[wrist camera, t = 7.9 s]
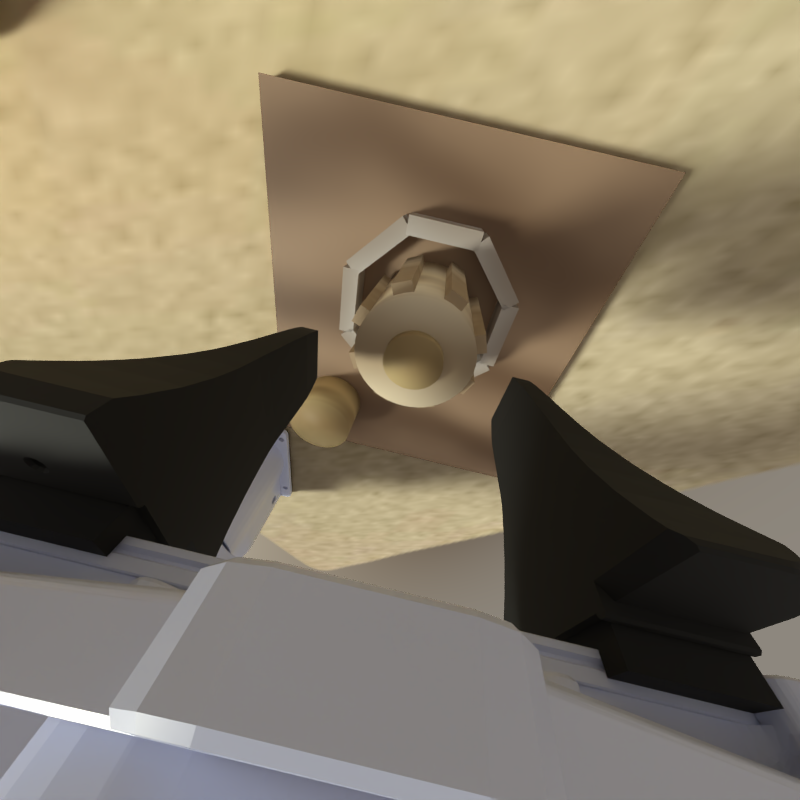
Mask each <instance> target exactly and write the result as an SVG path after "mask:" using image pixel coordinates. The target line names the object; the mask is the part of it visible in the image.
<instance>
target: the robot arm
mask: <svg viewBox="0 0 800 800" xmlns="http://www.w3.org/2000/svg"><path fill="white" fill-rule="evenodd" d="M317 370H318V330H314V329H309V328H305V327H297V328H292V329H288V330H285V331H281V332H278V333H275V334H271V335H268V336H264V337H261V338H258V339H254V340H250V341H246V342H242V343H239V344H235V345H231V346H227V347H222V348H218V349H213V350H207V351H201V352H195V353H189V354H182V355H172V356H163V357H153V358H143V359H127V360H103V361H27V360H9V361H4V362H0V800H800V680H799V679H795V678H790V677H785V676H778V675H762V673H761V672H760V670H759V669H758V667H757V666H756V664H755V663H754V661H753V660H752V658H751V656H753V657H757V656H761V653H762V650H761V649H760V647H759V646H758V644H757V643H756V641H755V640H754V638H753V637H752V635H751V634H750V633H751V632H754V631H756V630H760V629H763V628H765V627H768V626H771V625H774V624H777V623H780V622H783V621H786V620H789V619H791V618H795V617H797V616H799V615H800V558H799V557H798V556H797V555H796V554H795V553H794V552H793V551H791V550H790V549H789V548H787V547H786V546H785V545H783V544H781V543H779V542H777V541H775V540H773V539H770V538H768V537H766V536H764V535H762V534H760V533H758V532H756V531H754V530H752V529H749V528H748V527H746V526H743V525H741V524H739V523H737V522H735V521H733V520H731V519H729V518H727V517H725V516H723V515H721V514H719V513H717V512H715V511H713V510H711V509H709V508H707V507H705V506H703V505H702V504H700V503H698V502H696V501H694V500H692V499H690V498H689V497H687V496H685V495H683V494H681V493H679V492H678V491H676V490H674V489H672V488H671V487H669V486H667V485H665V484H664V483H662V482H660V481H659V480H657V479H656V478H654V477H652V476H651V475H649V474H647V473H646V472H644V471H643V470H641V469H639V468H638V467H636V466H635V465H633V464H632V463H630V462H629V461H627V460H626V459H624V458H623V457H621V456H620V455H619V454H617V453H616V452H614V451H613V450H612V449H610V448H609V447H607V446H606V445H605V444H603V443H602V442H601V441H599V440H598V439H597V438H595V437H594V436H593V435H592V434H590V433H589V432H588V431H587V430H586V429H584V428H583V427H582V426H581V425H580V424H578V423H577V422H576V421H575V420H574V419H573V418H571V417H570V416H569V415H568V414H567V413H566V412H565V411H564V410H563V409H561V408H560V407H559V406H558V405H557V404H556V403H555V402H554V401H553V400H552V399H550V398H549V397H548V396H547V395H546V394H545V393H544V392H543V391H542V390H540V389H539V388H538V387H537V386H536V385H534V384H533V383H532V382H530V381H528V380H524V379H519V378H515V377H512V379H511V381H510V383H509V385H508V387H507V389H506V391H505V393H504V395H503V397H502V399H501V401H500V403H499V405H498V407H497V409H496V411H495V413H494V415H493V417H492V419H491V439H492V448H493V454H494V460H495V465H496V471H497V477H498V482H499V488H500V493H501V501H502V511H503V528H504V554H505V555H504V556H505V602H504V620H502V619H500V618H497V617H494V616H492V615H489V614H486V613H483V612H481V611H478V610H476V609H472V608H467V607H463V606H459V605H455V604H451V603H446V602H443V601H438V600H434V599H430V598H426V597H421V596H418V595H413V594H410V593H405V592H401V591H397V590H392V589H388V588H385V587H381V586H376V585H372V584H368V583H364V582H360V581H356V580H351V579H347V578H343V577H339V576H335V575H331V574H327V573H323V572H318V571H314V570H310V569H306V568H302V567H298V566H293V565H290V564H285V563H281V562H276V561H269V560H260V559H252V558H244V557H243V556H244V555H245V554H246V553H247V552H248V551H249V549H250V548H251V546H252V545H253V543H254V541H255V540H256V538H257V536H258V534H259V533H260V531H261V529H262V527H263V525H264V524H265V522H266V520H267V518H268V517H269V515H270V513H271V511H272V509H273V508H274V506H275V504H276V502H277V501H278V499H279V497H280V495H282V496H287V497H288V496H290V495H291V494H292V484H291V469H290V453H289V438H288V432H287V431H286V430H284V429H285V428H286V427H287V425H288V424H289V423H290V421H291V420H292V419H293V417H294V416H295V414H296V413H297V412H298V410H299V409H300V407H301V406H302V405H303V403H304V402H305V400H306V399H307V397H308V395H309V394H310V392H311V390H312V388H313V386H314V384H315V382H316V380H317Z"/></svg>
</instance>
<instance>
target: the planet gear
mask: <svg viewBox="0 0 800 800" xmlns="http://www.w3.org/2000/svg"><path fill="white" fill-rule="evenodd" d="M352 322H354V323H355V324H357V325H358V326H360V327H359V329H358V332H357V335H356V338H355V344H354V345H353V347H352V348H351V350H350V351H349V355H350V358H351V361H352V364H353V367H354V369H355V368H358V369H359V372H360V374H361V376H362V377H363V379H364V380H365V382H366V383H367V384H368V385H369V386H370V387H371V389H373V390H374V393H375V394H377V395H379V396H380V397H382V398H384V399H385V400H387V401H388V400H389V401H391V402H393V403H396V404H399V405H402V406H408V407H418V408H427V407H434V405H438V404H441V403H443V402H446V401H448V400H450V399H451V398H453V397H454V396H456V395H457V394H458V393H459V392H460V393H461V394H464V393H465V392H466V391H467V390H468V389H469V388H470V387H471V386H472V385H473V384H474V383H475V380H474V370H475V367H476V362H477V354H484V353H487V340H486V331H485V327H484V323H483V318H482V314H481V309H480V305H479V301H478V297H473V298H469V294H468V291H467V285H466V278H465V271H463V270H462V269H461V268H460V267H458V266H457V265H456V264H454V263H453V262H451V264H450V265H449V267H448V268H447V267H445V266H443V265H440V264H437V263H432V262H424V256H423V255H420V256H415V257H410V258H407V260H406V262H405V263H404V265H403V266H402V268H401V269H400V271H399V272H398V273H397V274H396V275H395V276H394V277H393V278H392V279H390V278H389V277H387V276H386V275H384V276H383V277H382V279H381V280H380V281H379V282H378V284H377V285H376V286H375V287H374V289H373V290H372V291H371V292H370V294H369V295H368V296H367V297H366V299H365V300H364V301H363V302H362V304H361V305H360V307H359V309H358V310H357V312H356V314H355V316H354V317H353V319H352Z"/></svg>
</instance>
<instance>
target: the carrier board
mask: <svg viewBox="0 0 800 800" xmlns="http://www.w3.org/2000/svg"><path fill="white" fill-rule="evenodd" d="M258 74H259V87H260V101H261V114H262V128H263V142H264V155H265V169H266V182H267V196H268V210H269V223H270V237H271V250H272V264H273V277H274V291H275V305H276V318H277V332H281V331H285V330H288V329H292V328H297V327H305V328H309V329H314V330H318V370H317V380H316V382H315V384H314V386H313V388H312V390H311V392H310V394H309V395H308V397H307V399H306V400H305V402H304V403H303V405H302V406H301V407H300V409H299V410H298V412H297V413H296V414H295V416H294V417H293V419H292V420H291V421H290V423H289V424H288V425H287V427H291V428H293V429H294V431H295V432H296V433H297V434H298V435H299V436H300V437H301V438H302V439H303V440H305V441H307V442H308V443H310V444H313V445H316V446H319V447H335V446H338V445H340V444H342V443H343V442H344V441H349V442H353V443H358V444H362V445H366V446H370V447H374V448H378V449H382V450H387V451H391V452H395V453H399V454H403V455H407V456H411V457H416V458H420V459H424V460H428V461H432V462H436V463H440V464H445V465H449V466H453V467H457V468H461V469H465V470H469V471H474V472H478V473H482V474H486V475H490V476H494V477H497V471H496V465H495V460H494V454H493V448H492V439H491V419H492V417H493V415H494V413H495V411H496V409H497V407H498V405H499V403H500V401H501V399H502V397H503V395H504V393H505V391H506V389H507V387H508V385H509V383H510V381H511V379H512V377H515V378H519V379H524V380H528V381H530V382H532V383H533V384H534V385H536V386H537V387H538V388H539V389H540V390H542V391H543V392H544V393H545V394H546V395H547V396H548V395H549V393H550V391H551V390H552V388H553V387H554V385H555V383H556V382H557V380H558V378H559V377H560V375H561V374H562V372H563V370H564V369H565V367H566V366H567V364H568V362H569V361H570V359H571V357H572V356H573V354H574V353H575V351H576V349H577V348H578V346H579V344H580V343H581V341H582V340H583V338H584V336H585V335H586V333H587V332H588V330H589V328H590V327H591V325H592V323H593V322H594V320H595V319H596V317H597V315H598V314H599V312H600V311H601V309H602V307H603V306H604V304H605V302H606V301H607V299H608V298H609V296H610V294H611V293H612V291H613V289H614V288H615V286H616V285H617V283H618V281H619V280H620V278H621V277H622V275H623V273H624V272H625V270H626V268H627V267H628V265H629V264H630V262H631V260H632V259H633V257H634V255H635V254H636V252H637V251H638V249H639V247H640V246H641V244H642V243H643V241H644V239H645V238H646V236H647V234H648V233H649V231H650V230H651V228H652V226H653V225H654V223H655V221H656V220H657V218H658V217H659V215H660V213H661V212H662V210H663V209H664V207H665V205H666V204H667V202H668V200H669V199H670V197H671V196H672V194H673V192H674V191H675V189H676V187H677V186H678V184H679V183H680V181H681V179H682V178H683V176H684V175H685V173H686V172H681V171H677V170H673V169H669V168H664V167H660V166H656V165H652V164H647V163H643V162H639V161H634V160H630V159H626V158H622V157H617V156H613V155H609V154H605V153H600V152H596V151H592V150H587V149H583V148H579V147H575V146H570V145H566V144H562V143H558V142H553V141H549V140H545V139H540V138H536V137H532V136H528V135H523V134H519V133H515V132H511V131H506V130H502V129H498V128H493V127H489V126H485V125H481V124H476V123H472V122H468V121H464V120H459V119H455V118H451V117H447V116H442V115H438V114H434V113H429V112H425V111H421V110H417V109H412V108H408V107H404V106H400V105H395V104H391V103H387V102H382V101H378V100H374V99H370V98H365V97H361V96H357V95H353V94H348V93H344V92H340V91H335V90H331V89H327V88H323V87H318V86H314V85H310V84H306V83H301V82H297V81H293V80H288V79H284V78H280V77H276V76H271V75H267V74H263V73H259V72H258ZM420 255H423V256H424V262H432V263H437V264H440V265H443V266H445V267H447V268H448V267H449V265H450V264H451V262H453V263H454V264H456V265H457V266H458V267H460V268H461V269H462V270H463V271H465V278H466V285H467V291H468V294H469V298H473V297H478V301H479V305H480V309H481V314H482V318H483V323H484V327H485V331H486V340H487V353H484V354H477V362H476V367H475V370H474V380H475V383H474V384H473V385H472V386H471V387H470V388H469V389H468V390H467V391H466V392H465V393H464V394H461V393H460V392H459V393H458V394H457V395H456V396H454V397H453V398H451V399H450V400H448V401H446V402H443V403H441V404H438V405H434V407H427V408H418V407H408V406H402V405H399V404H396V403H393V402H391V401H389V400H388V401H387V400H385V399H384V398H382V397H380V396H379V395H377V394H375V393H374V390H373V389H371V387H370V386H369V385H368V384H367V383H366V382H365V380H364V379H363V377H362V376H361V374H360V372H359V369H358V368H355V369H354V367H353V364H352V361H351V358H350V355H349V351H350V350H351V348H352V347H353V345H354V344H355V338H356V335H357V332H358V329H359V327H360V326H358V325H357V324H355V323H354V322H352V319H353V317H354V316H355V314H356V312H357V310H358V309H359V307H360V305H361V304H362V302H363V301H364V300H365V299H366V297H367V296H368V295H369V294H370V292H371V291H372V290H373V289H374V287H375V286H376V285H377V284H378V282H379V281H380V280H381V279H382V277H383V276H384V275H386V276H387V277H389V278H390V279H392V278H393V277H394V276H395V275H396V274H397V273H398V272H399V271H400V269H401V268H402V266H403V265H404V263H405V262H406V260H407V258H410V257H415V256H420Z"/></svg>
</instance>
